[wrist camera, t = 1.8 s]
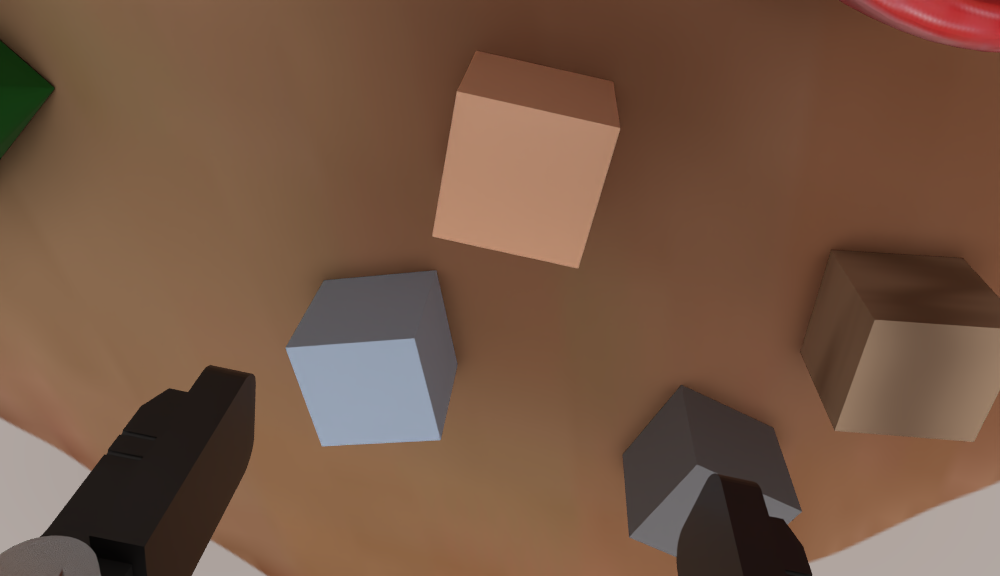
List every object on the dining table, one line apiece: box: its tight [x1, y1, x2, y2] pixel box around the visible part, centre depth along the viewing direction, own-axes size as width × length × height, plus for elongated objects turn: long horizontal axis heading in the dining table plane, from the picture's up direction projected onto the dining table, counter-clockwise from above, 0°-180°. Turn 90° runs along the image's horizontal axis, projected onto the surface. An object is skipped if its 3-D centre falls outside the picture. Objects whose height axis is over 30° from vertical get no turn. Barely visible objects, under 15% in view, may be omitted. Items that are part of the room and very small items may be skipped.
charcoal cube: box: [623, 385, 802, 557], centre depth 32 cm, size 5×5×5 cm
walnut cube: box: [800, 250, 1000, 442], centre depth 28 cm, size 5×5×5 cm
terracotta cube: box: [432, 51, 620, 268], centre depth 25 cm, size 5×5×5 cm
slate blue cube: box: [286, 270, 458, 446], centre depth 30 cm, size 5×5×5 cm
